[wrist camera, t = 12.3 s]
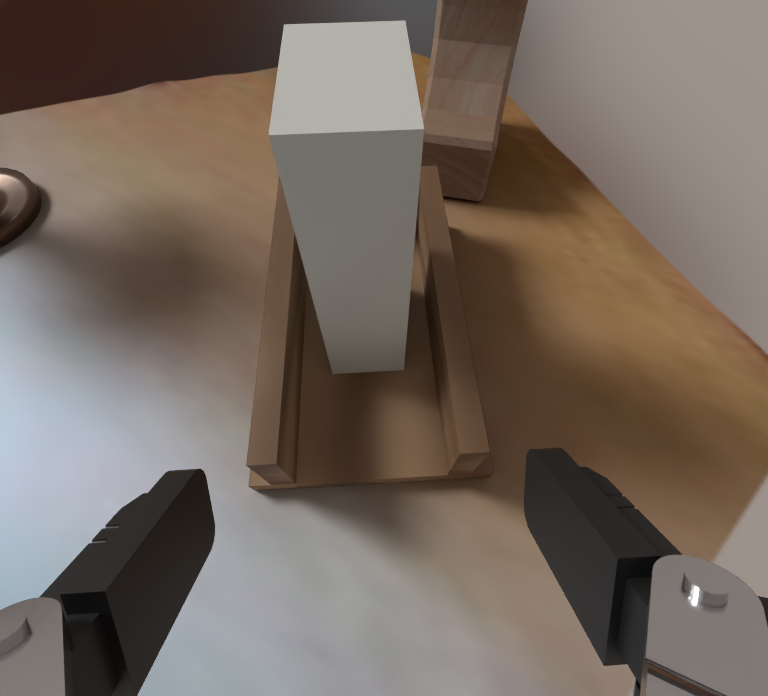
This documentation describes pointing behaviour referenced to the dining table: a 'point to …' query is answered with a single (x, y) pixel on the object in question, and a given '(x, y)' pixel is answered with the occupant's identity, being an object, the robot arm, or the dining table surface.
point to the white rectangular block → (352, 181)
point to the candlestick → (16, 204)
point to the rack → (367, 378)
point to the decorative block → (468, 90)
